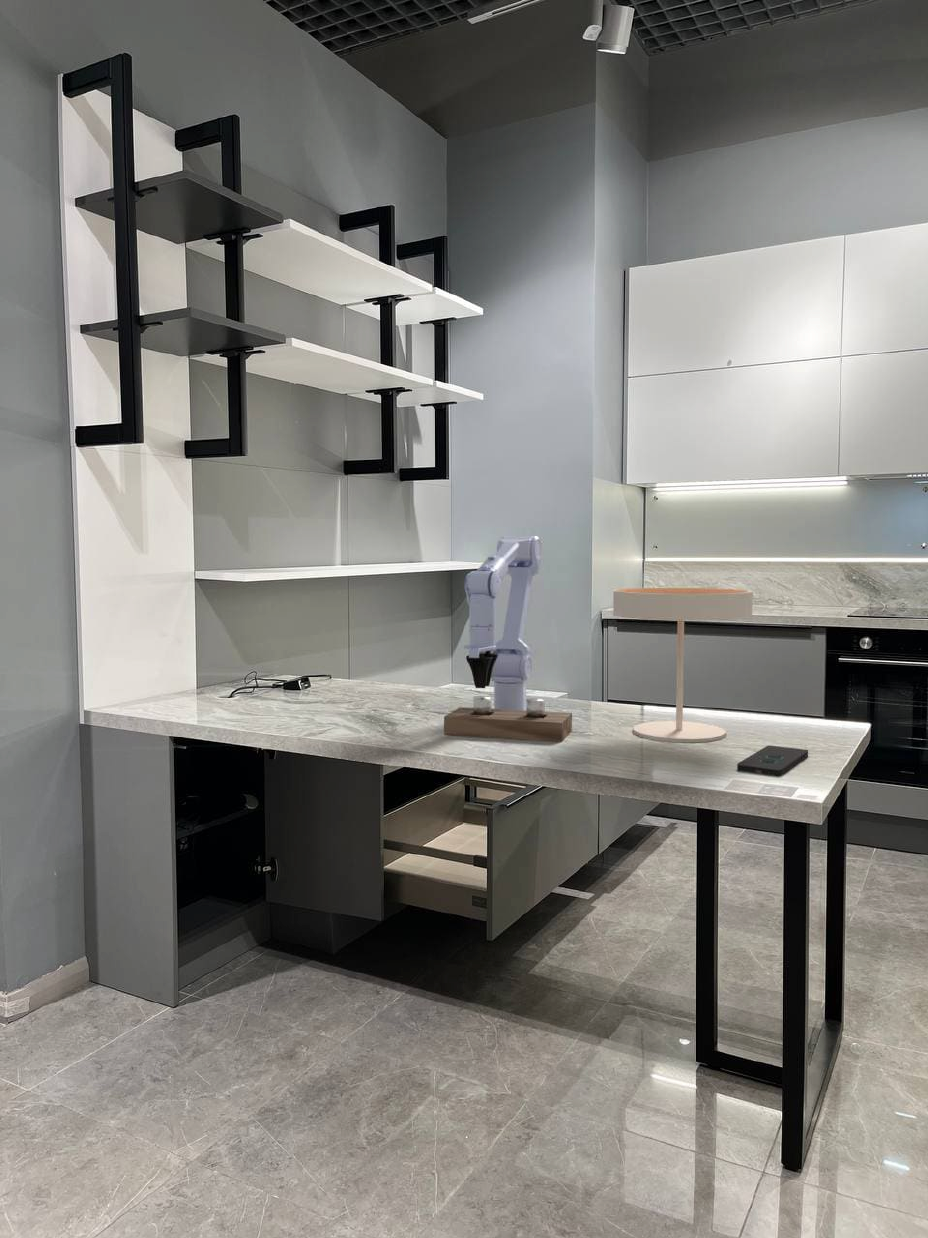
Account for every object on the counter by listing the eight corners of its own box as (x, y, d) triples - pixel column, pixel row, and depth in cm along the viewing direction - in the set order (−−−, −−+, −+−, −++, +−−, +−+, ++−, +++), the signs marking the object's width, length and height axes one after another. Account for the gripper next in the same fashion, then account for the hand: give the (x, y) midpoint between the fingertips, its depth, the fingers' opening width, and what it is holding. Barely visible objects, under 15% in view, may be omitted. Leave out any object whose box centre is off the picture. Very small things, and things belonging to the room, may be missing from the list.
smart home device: (734, 763, 172) (767, 744, 188) (734, 773, 172) (767, 752, 189) (781, 769, 167) (810, 749, 184) (780, 779, 167) (809, 758, 184)
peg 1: (476, 713, 211) (476, 695, 210) (493, 714, 210) (493, 696, 209) (471, 716, 207) (471, 698, 206) (488, 717, 206) (488, 699, 205)
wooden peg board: (459, 724, 216) (459, 707, 216) (571, 730, 209) (572, 712, 209) (444, 734, 205) (444, 716, 204) (562, 741, 197) (562, 722, 197)
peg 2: (528, 715, 207) (528, 697, 207) (546, 716, 206) (546, 698, 206) (524, 719, 203) (524, 700, 203) (542, 719, 202) (542, 701, 202)
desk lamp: (753, 725, 215) (756, 588, 213) (745, 751, 187) (748, 595, 185) (623, 717, 225) (625, 586, 223) (598, 741, 197) (599, 592, 195)
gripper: (473, 622, 215) (473, 681, 216) (455, 627, 201) (455, 691, 202) (503, 623, 213) (503, 682, 214) (487, 628, 199) (487, 692, 200)
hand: (482, 686), depth 208 cm, fingers open, 3 cm apart
